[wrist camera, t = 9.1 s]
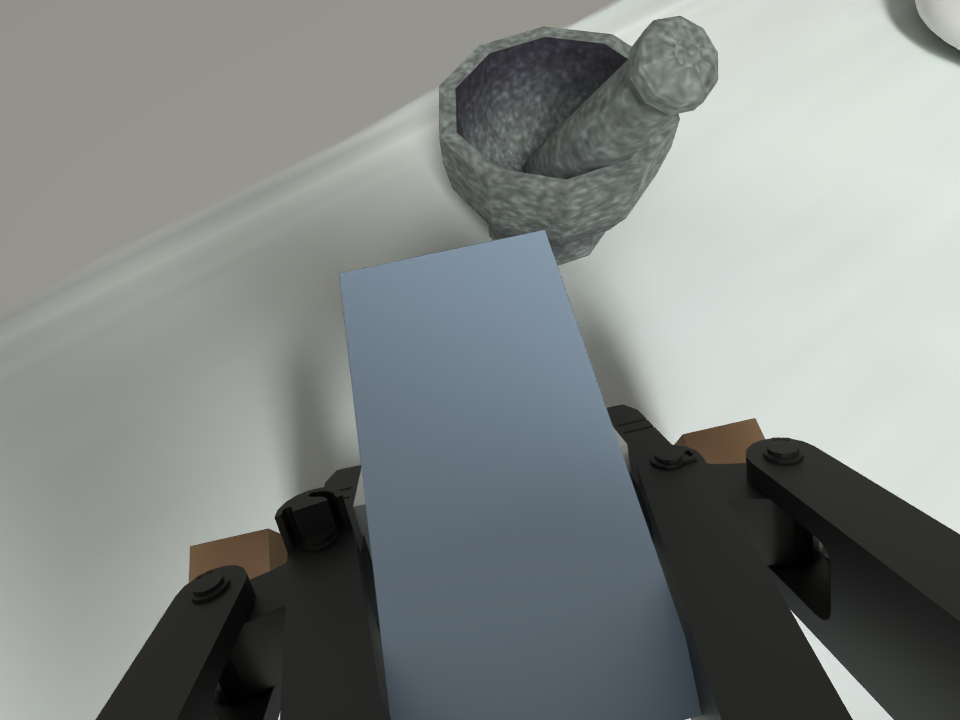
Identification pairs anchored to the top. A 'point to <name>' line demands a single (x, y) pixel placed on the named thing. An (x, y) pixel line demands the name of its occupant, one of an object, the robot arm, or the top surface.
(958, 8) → the flower in vase
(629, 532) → the slotted block
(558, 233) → the mortar and pestle
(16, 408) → the top surface
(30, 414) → the top surface
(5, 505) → the top surface
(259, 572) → the wooden drawer pull
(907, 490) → the top surface
